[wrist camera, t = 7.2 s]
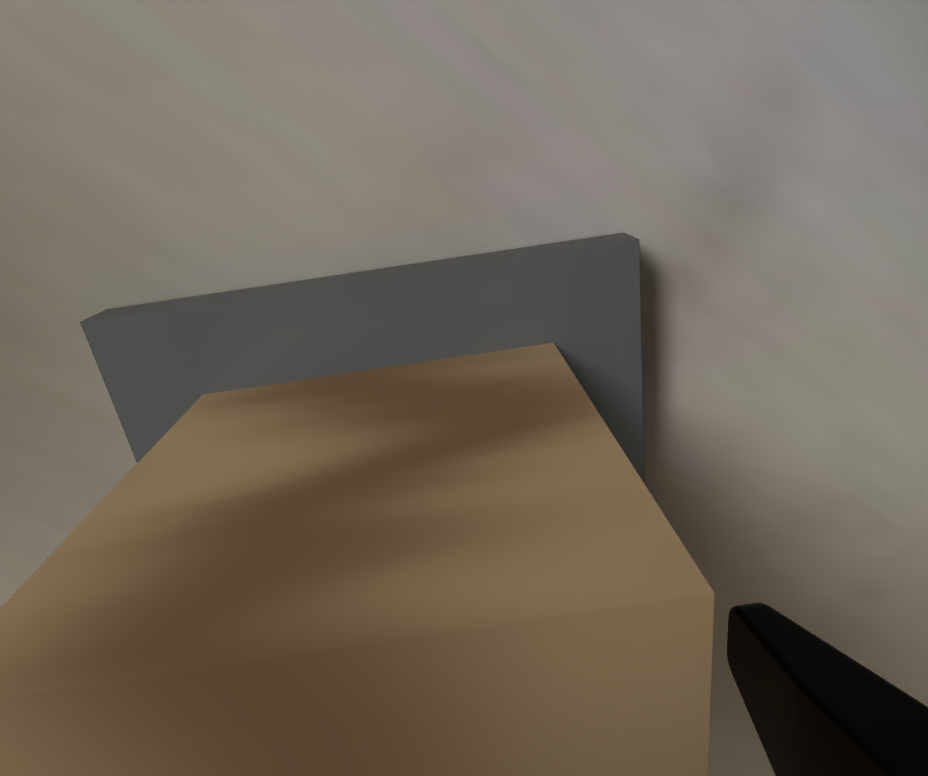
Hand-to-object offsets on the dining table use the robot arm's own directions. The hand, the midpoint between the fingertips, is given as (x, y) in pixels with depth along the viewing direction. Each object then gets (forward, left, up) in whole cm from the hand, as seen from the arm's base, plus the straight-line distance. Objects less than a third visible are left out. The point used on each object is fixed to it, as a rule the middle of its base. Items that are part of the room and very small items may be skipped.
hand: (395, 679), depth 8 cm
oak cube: (0, 0, -4) cm, 4 cm away
